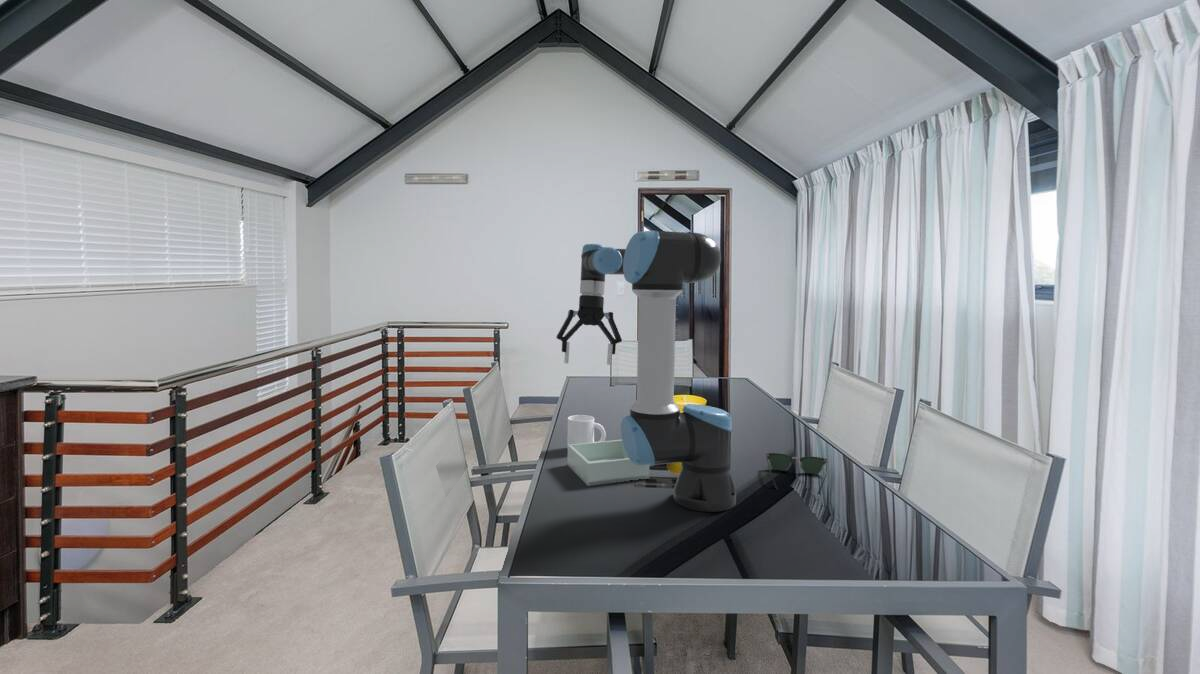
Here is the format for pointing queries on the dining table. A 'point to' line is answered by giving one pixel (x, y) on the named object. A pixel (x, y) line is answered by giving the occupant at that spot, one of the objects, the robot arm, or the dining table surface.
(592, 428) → the mug
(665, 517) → the dining table surface
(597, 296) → the robot arm
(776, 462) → the sunglasses
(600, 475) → the bin
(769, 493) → the dining table surface
